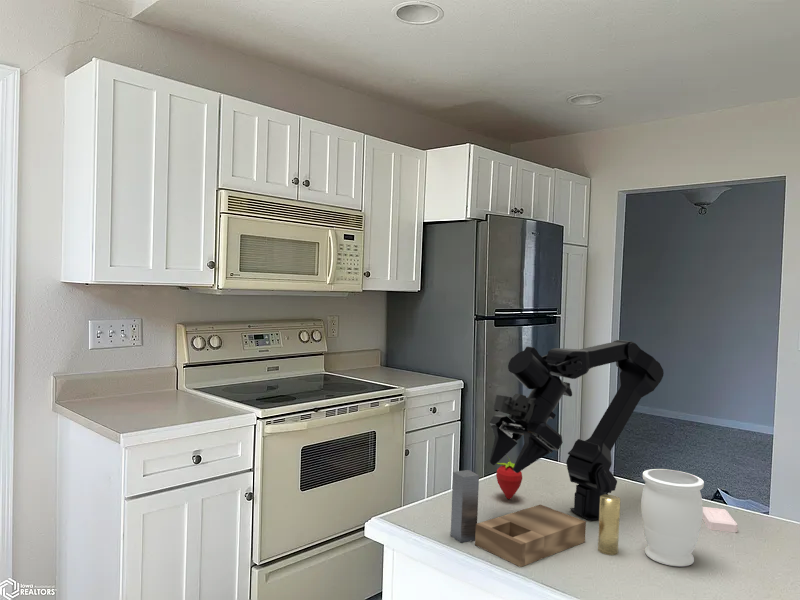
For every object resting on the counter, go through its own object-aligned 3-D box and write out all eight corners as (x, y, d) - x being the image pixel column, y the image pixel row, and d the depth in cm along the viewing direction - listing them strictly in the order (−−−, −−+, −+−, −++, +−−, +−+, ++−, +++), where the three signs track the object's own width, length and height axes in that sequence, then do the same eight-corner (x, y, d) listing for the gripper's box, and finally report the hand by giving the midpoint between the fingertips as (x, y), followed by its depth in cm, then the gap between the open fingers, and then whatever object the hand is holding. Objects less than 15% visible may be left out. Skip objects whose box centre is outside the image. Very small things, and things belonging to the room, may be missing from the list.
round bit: (608, 545, 117) (610, 493, 117) (622, 553, 114) (624, 499, 114) (593, 548, 116) (595, 495, 115) (607, 556, 112) (609, 502, 112)
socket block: (539, 523, 127) (540, 504, 127) (585, 541, 118) (585, 521, 118) (474, 545, 115) (475, 523, 115) (520, 567, 107) (521, 544, 106)
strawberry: (498, 504, 138) (500, 460, 137) (492, 493, 145) (494, 451, 145) (524, 505, 138) (526, 461, 137) (517, 494, 145) (519, 452, 145)
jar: (696, 576, 106) (700, 489, 105) (633, 560, 111) (637, 477, 111) (703, 554, 115) (707, 475, 114) (644, 540, 120) (648, 464, 120)
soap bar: (709, 531, 127) (709, 520, 127) (699, 516, 136) (699, 505, 136) (737, 535, 126) (738, 523, 126) (725, 519, 135) (726, 508, 135)
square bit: (466, 533, 121) (468, 469, 120) (476, 540, 117) (479, 475, 117) (450, 535, 119) (453, 471, 119) (460, 542, 116) (463, 477, 116)
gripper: (490, 377, 132) (452, 438, 127) (539, 380, 114) (496, 451, 110) (527, 407, 134) (491, 468, 130) (580, 414, 117) (540, 485, 112)
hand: (502, 467), depth 120 cm, fingers open, 9 cm apart
